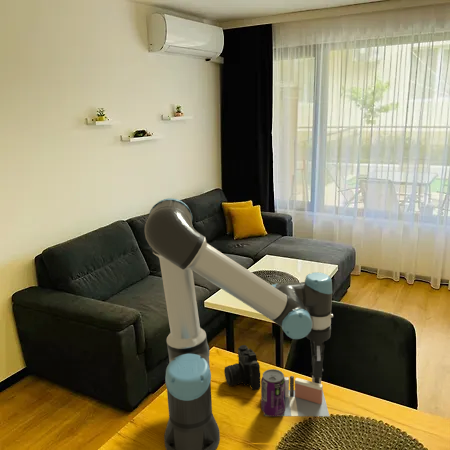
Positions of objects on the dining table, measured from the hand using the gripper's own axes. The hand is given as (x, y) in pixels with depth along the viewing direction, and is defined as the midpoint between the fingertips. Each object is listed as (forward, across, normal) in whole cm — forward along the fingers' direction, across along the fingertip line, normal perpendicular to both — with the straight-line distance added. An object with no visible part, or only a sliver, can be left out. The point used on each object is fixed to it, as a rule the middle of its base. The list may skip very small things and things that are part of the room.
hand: (316, 391), depth 135 cm
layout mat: (+2, -4, +7) cm, 8 cm away
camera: (+2, +6, +24) cm, 25 cm away
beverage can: (+1, -8, +13) cm, 15 cm away
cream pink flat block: (+1, -2, +3) cm, 4 cm away
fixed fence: (+1, -1, +12) cm, 12 cm away
